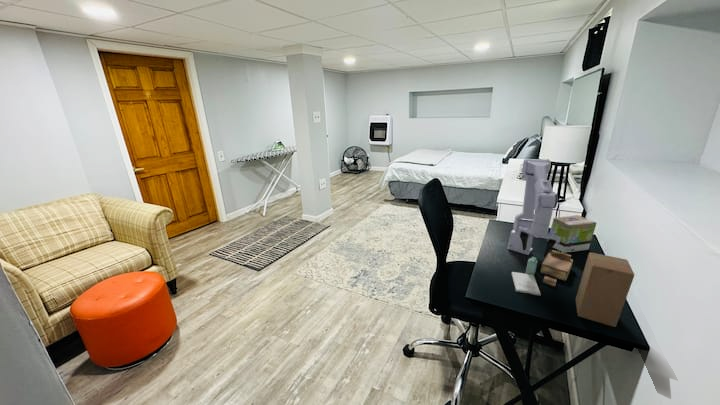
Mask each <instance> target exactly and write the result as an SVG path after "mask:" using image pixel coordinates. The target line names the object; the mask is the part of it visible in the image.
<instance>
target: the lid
mask: <svg viewBox="0 0 720 405" xmlns="http://www.w3.org/2000/svg"><path fill="white" fill-rule="evenodd" d="M571 257H572V255H571V254H568V253H562V252H560V251H558V250H553V249H552V250H551V251H550V252H548V254H547V256H546V257H544V258H545V259H544V260H543V262H542V263H541V266H542V265H543V266H546V267H549V268H552V269H556V270H559V271H562V272H565V273H568V272H569V269H570V267H571V265H572V266H573V263H572V262H574V260H573V259H572V258H571ZM571 268H572V267H571ZM569 273H570V272H569Z"/></svg>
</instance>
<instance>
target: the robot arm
mask: <svg viewBox="0 0 720 405" xmlns="http://www.w3.org/2000/svg"><path fill="white" fill-rule="evenodd" d="M551 163H552V162H551V160H550V159H549V158H547V159H543V158H542V159H541V158H528V157H527V158H525V159H524V160H523V162H522V167H521V168H522V169H521V176H522V177H523V178H525V188H524V195H523V205H522V212H520V213H518V214H516V215H515V217H514V221H513V226H512V227H513V229H512V230H511V231H510V234H509V237H508V243H507V248H506V249H507V250H511V251H513V252H517V253H521V254H524V255H528V256H529V255H530V254H531V252H532V251H533V249H534V248H533V247H532V244H533V240H534V238H538V239H539V238H541V239H545V240H547V241H548V242H546V246H545V251H544V253H543V257H544V258H546V257H547V255H548V253H550V252H549V251H550V250H551V249H552V248H553V246H554V245H555V243H556V242H557V243H559V242H560V239H561V237H559V236H556V235H554V234H551V233H550V232H549V229H550V224H551V221H552V216H553V211H554V209H556V208H557V206H558V201H559V200H558V199H559V198H558V197H559V196H558V194H557V193H556V192H555V191H554V190H553V186H552V183H551V181H550V180H548V173H549V172H550V169H551Z"/></svg>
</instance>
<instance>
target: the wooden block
mask: <svg viewBox="0 0 720 405" xmlns="http://www.w3.org/2000/svg"><path fill="white" fill-rule="evenodd" d="M629 262H630V261H629V260H628V259H625V258H620V257H616V256H615V257H614V256H610V255H605V254H600V253H596V252H590V251H589V253H588V254H587V258H586V262H585V264H584V269H583V272H582V276H581V280H580V282H579V286H578V290H577V293H576V297H575V306H576V313H577V316H578V317H579V318H583V319H586V320H590V321H593V322H596V323H600V324H603V325H606V326H610V327H613V328H616V327H617V324H618V322H619V319H620V317H621V315H622V314H621V313H622V310H623V309H624V308H623V307H624V305H625V303H626V301H627V297H628V295H629V292H630V288H631V287H632V283H633V281H634V277H635V273H634V271H633V269H632V267H631V265H630V263H629Z"/></svg>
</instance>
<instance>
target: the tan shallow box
mask: <svg viewBox="0 0 720 405" xmlns="http://www.w3.org/2000/svg"><path fill="white" fill-rule="evenodd" d="M573 262H574V261H573ZM573 262H572V265H571V267H570V269H569V272H568V273H565V272H562V271H559V270H556V269H552V268H549V267H546V266H543V265H542V264H541V268H540V271H539V272H540V274H544V277H543V281H542V283H543V284H547V285H549V286H552V287H556V284H557V279H559V280H561V281H564V282H566V281H567V279H568V276H569V274H570V271H571V270H572V266H573Z"/></svg>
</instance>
